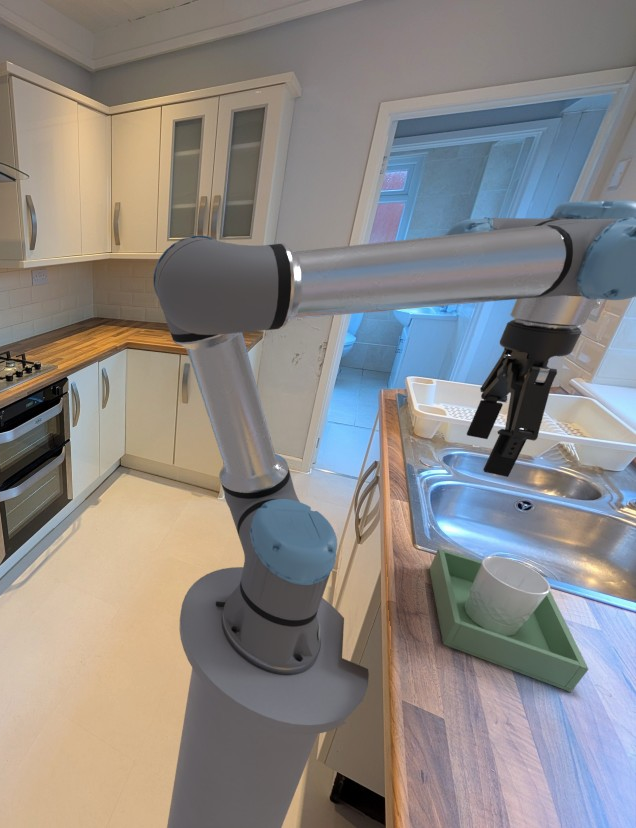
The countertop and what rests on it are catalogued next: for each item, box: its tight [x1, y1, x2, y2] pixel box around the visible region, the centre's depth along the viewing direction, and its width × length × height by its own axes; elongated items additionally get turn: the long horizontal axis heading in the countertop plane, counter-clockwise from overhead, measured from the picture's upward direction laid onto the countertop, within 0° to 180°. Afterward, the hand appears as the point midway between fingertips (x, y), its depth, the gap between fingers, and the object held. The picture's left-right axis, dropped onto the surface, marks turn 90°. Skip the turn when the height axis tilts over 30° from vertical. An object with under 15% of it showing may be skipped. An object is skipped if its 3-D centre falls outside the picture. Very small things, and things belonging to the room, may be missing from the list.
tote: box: [428, 548, 589, 693], centre depth 70 cm, size 15×19×5 cm
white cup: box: [464, 555, 551, 636], centre depth 69 cm, size 8×8×10 cm
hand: (485, 453), depth 69 cm, fingers open, 13 cm apart
